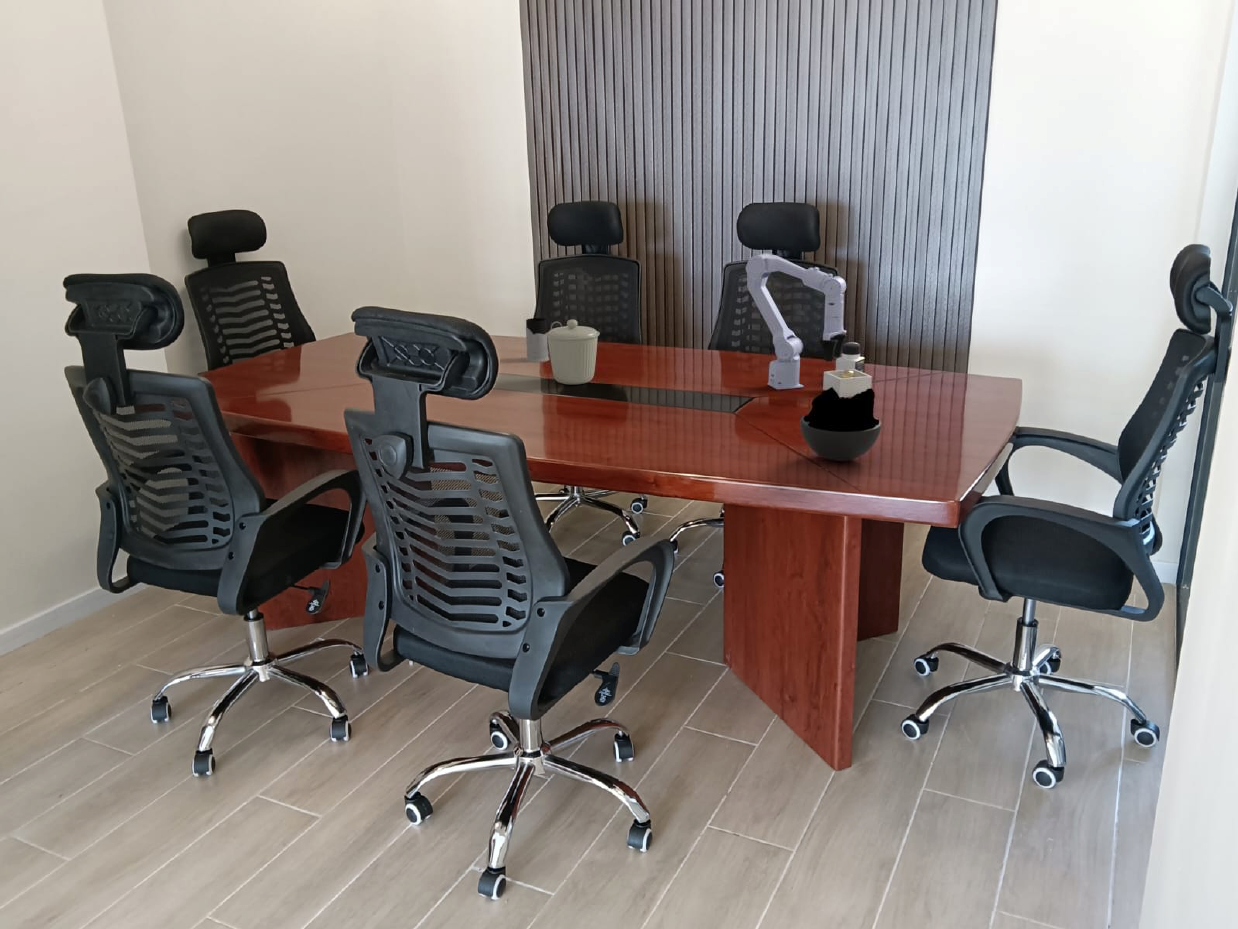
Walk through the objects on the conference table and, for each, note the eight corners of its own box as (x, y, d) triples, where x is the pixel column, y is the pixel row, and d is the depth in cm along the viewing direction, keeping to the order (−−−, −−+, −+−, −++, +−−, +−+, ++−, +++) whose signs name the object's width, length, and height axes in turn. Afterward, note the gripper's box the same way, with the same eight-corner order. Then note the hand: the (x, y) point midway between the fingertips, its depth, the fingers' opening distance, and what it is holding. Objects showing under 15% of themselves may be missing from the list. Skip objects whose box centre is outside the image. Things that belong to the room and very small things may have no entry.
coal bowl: (785, 463, 253) (788, 390, 247) (817, 443, 268) (820, 374, 263) (861, 476, 242) (866, 400, 236) (890, 455, 258) (895, 383, 252)
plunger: (840, 392, 315) (841, 375, 313) (827, 385, 323) (828, 369, 322) (866, 389, 317) (867, 373, 316) (852, 383, 326) (853, 367, 324)
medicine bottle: (854, 382, 334) (856, 346, 331) (834, 379, 338) (836, 344, 335) (863, 377, 340) (865, 342, 336) (844, 375, 344) (846, 340, 340)
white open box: (839, 397, 314) (840, 379, 313) (823, 389, 325) (823, 371, 323) (870, 395, 317) (871, 376, 315) (853, 387, 327) (854, 369, 325)
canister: (608, 384, 336) (607, 321, 330) (556, 389, 330) (554, 326, 324) (589, 373, 352) (588, 313, 346) (540, 378, 346) (538, 317, 340)
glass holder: (523, 358, 379) (522, 318, 374) (560, 355, 383) (559, 316, 378) (528, 362, 371) (527, 322, 366) (566, 359, 375) (564, 319, 370)
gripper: (839, 320, 308) (837, 364, 312) (853, 313, 320) (851, 355, 324) (816, 319, 311) (815, 362, 316) (831, 312, 323) (830, 354, 328)
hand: (832, 358), depth 320 cm, fingers open, 7 cm apart
